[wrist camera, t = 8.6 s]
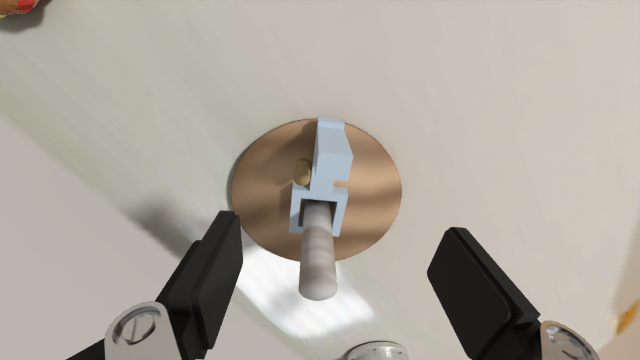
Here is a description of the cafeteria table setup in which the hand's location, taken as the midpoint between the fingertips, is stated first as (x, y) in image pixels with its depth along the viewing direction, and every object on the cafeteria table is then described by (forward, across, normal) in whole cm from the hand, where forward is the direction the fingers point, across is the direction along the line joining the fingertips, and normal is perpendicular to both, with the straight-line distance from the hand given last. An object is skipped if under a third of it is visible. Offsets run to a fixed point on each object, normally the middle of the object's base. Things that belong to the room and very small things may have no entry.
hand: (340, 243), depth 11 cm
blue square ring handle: (+14, 0, +4) cm, 15 cm away
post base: (+16, 0, +8) cm, 18 cm away
